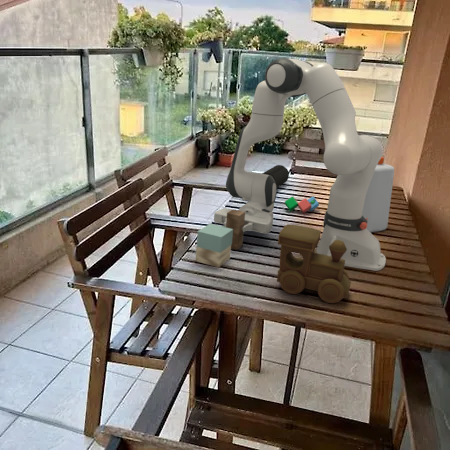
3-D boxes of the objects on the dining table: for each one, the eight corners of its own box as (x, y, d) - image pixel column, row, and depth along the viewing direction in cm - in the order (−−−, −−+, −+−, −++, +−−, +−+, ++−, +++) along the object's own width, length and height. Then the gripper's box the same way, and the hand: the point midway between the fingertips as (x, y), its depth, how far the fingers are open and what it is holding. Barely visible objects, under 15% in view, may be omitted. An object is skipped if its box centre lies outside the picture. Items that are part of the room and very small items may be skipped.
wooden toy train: (270, 291, 122) (277, 235, 116) (281, 274, 132) (287, 221, 126) (344, 309, 116) (355, 250, 110) (349, 290, 126) (360, 235, 120)
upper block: (231, 244, 139) (233, 229, 137) (220, 252, 132) (221, 237, 130) (209, 238, 142) (210, 223, 140) (196, 246, 135) (197, 231, 133)
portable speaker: (271, 181, 234) (273, 162, 230) (289, 184, 230) (291, 165, 227) (253, 192, 212) (255, 172, 208) (273, 196, 208) (275, 175, 205)
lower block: (230, 258, 141) (231, 243, 139) (218, 267, 134) (219, 252, 132) (207, 252, 144) (208, 238, 142) (195, 261, 137) (196, 246, 135)
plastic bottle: (335, 221, 180) (346, 153, 170) (363, 217, 187) (375, 151, 177) (362, 235, 168) (376, 161, 158) (391, 230, 174) (406, 160, 165)
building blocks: (296, 221, 191) (319, 205, 191) (295, 215, 183) (319, 199, 183) (285, 207, 194) (308, 192, 194) (284, 201, 186) (308, 185, 186)
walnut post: (242, 245, 150) (245, 211, 146) (236, 250, 147) (239, 215, 142) (230, 242, 152) (232, 209, 148) (224, 246, 148) (227, 212, 144)
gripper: (224, 202, 161) (206, 212, 149) (277, 213, 153) (263, 224, 141) (223, 218, 163) (205, 229, 151) (275, 230, 155) (261, 243, 143)
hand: (234, 227), depth 146 cm, fingers closed on walnut post, 4 cm apart
